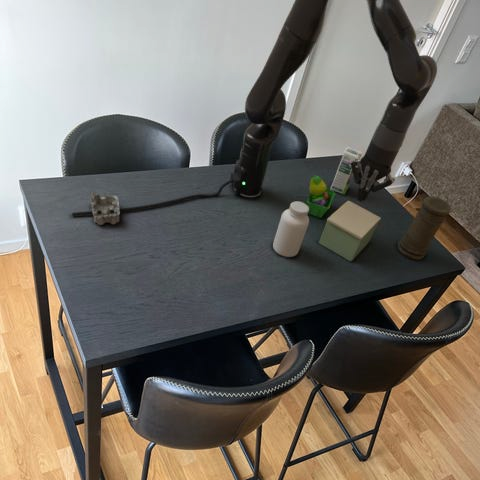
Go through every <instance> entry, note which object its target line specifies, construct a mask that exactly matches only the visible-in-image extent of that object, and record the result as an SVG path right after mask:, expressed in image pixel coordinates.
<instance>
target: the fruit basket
mask: <svg viewBox="0 0 480 480" xmlns="http://www.w3.org/2000/svg"><path fill="white" fill-rule="evenodd" d="M308 191H309V195H308V197H307V199H306V205H307V206H308V208H309V212H308V214H307V215H311V216H314V217H317V218H320V219H322V218H323V217H324V215H325V214H326V213H327V211H329V209H330V207H331V205H332V203H333V200H334V197H335V196H336V191H334V190H330V188H329V189H328V188H327V184H326V182H324V180H323V179H322V177H321V176H320V175H313V177H312V178H310V184H309V188H308Z"/></svg>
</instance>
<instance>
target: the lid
mask: <svg viewBox="0 0 480 480" xmlns="http://www.w3.org/2000/svg"><path fill="white" fill-rule="evenodd" d="M381 219H382V217H380V216H378V215H377V214H374V213H373V212H371V211H370V210H367V209H365V208H364V207H361V206H359V205H358V204H356V203H355V202H352V201H350V200H347V201H346V202H345V203H343V204H342V205H341V206H340V207H339V208H338V209H337V210H335V211H334V212H333V213H331V215H330V216H329V217H328V218H327V219H326V222H327V221H328V222H330V223H332V224H334V225H336V226H337V227H339V228H341V229H343V230H345V231H346V232H348V233H350V234H352V235H353V236H355V237H357V238H359V239H362V238H363V237H364V236H365V235H366V234H367V233H368V232H369V231H370V230H371V229H372V228H373V227H374V226H375V225H376V224H377V223H378V222H379V223H380V221H381ZM379 223H378V224H379Z"/></svg>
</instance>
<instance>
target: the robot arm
mask: <svg viewBox="0 0 480 480" xmlns="http://www.w3.org/2000/svg"><path fill="white" fill-rule="evenodd" d="M329 1H330V0H294V2H293V3H292V7H291V9H290V11H289V12H288V15H287V16H286V18H285V20H284V23H283V25H282V27H281V29H280V31H279V34H278V36H277V39H276V41H275V42H274V45H273V48H272V49H271V51H270V54H269V56H268V58H267V60H266V62H265V64H264V66H263V68H262V70H261V72H260V73H259V75H258V77H257V79H256V81H255V82H254V84H253V85H252V87H251V88H250V90H249V93H248V94H247V96H246V99H245V103H244V114H245V117H246V119H247V120H248V122H249V123H251V124H250V125H249V126H248V127H247V128H246V129H245V131H244V134H243V139H242V144H241V148H240V154H239V157H238V159H236V161H235V166H234V170H233V172H230V176H229V177H230V178H229V180H228V181H225V182H224V183H223V184H221V186H220V187H219V188H218V190H217V191H216V192H215V193H212V194H203V193H198V194H192V195H187V196H183V197H180V198H175V199H171V200H170V199H169V200H167V201H162V202H161V201H160V202H157V203H151V204H146V205H140V206H139V205H138V206H132V207H123V208H119V209H120V213H123V212H128V211H129V212H130V211H139V210H145V209H150V208H151V209H152V208H155V207H160V206H166V205H170V204H175V203H179V202H183V201H186V200H190V199H195V198H214V197H217V196H219V195H220V194H221V193H222V190H223V189H224V188H225V187H227V186H228V185H229V184H231V188H232V191H233V192H234V193H235V195H236V196H237V197H242V198H245V199H257V198H258V197H260V196H261V193H262V190H263V184H264V181H265V177H266V172H267V169H268V165H269V161H270V157H271V153H272V149H273V146H274V143H275V141H276V139H277V138H278V136H279V133H280V130H281V127H282V124H283V121H284V118H285V114H286V111H287V99H286V96H285V92H284V91H283V89H282V88H283V86H284V85H285V84H286V82H287V81H288V80H289V79H291V77H292V76H293V75H294V74H295V73H296V72H297V71H298V70H299V69H300V68H301V67H302V65H304V63H305V62H306V61H307V60H308V58H309V57H310V55H311V53H312V52H313V50H314V48H315V46H316V44H317V42H318V40H319V38H320V36H321V34H322V32H323V29H324V25H325V24H324V23H325V19H326V13H327V7H328V3H329ZM366 5H367V10H368V11H367V12H368V15H369V19H370V23H371V26H372V29H373V31H374V33H375V35H376V37H377V39H378V41H379V43H380V45H381V46H382V48H383V50H384V51H385V53H386V56H387V61H388V65H389V68H390V71H391V75H392V77H393V78H392V79H393V80H394V82H395V84H396V86H397V87H398V89H397V92H395V95H394V96H393V97H392V98H391V99H389V102H387V105H386V107H385V109H384V112H383V113H382V116H381V119H380V121H379V123H378V125H377V126H376V128H375V130H374V132H373V135H372V137H371V139H370V142H369V144H368V146H367V149H366V151H365V153H364V155H363V156H361V158H360V160H358V159H355V160H354V161H353V162H351V167H352V171H353V179H354V183H355V184H357V185H358V190H357V192H356V194H355V197H356V201H359V202H360V203H361V202H364V201H366V200H367V199H368V197H369V194H370V193H371V192H372V193H376V192H379V191H381V190H383V189H385V188H387V187H390V186H392V185H393V184H394V183H395V181H396V179H395V178H394V177H392V174H391V173H392V166H393V163H394V162H395V160H396V157H397V155H398V153H399V151H400V149H401V148H402V146H403V144H404V141H405V139H406V135H407V133H408V130H409V129H410V126H411V124H412V122H413V120H414V118H415V115H416V113H417V111H418V109H419V107H420V106H421V105H422V103H423V101H424V100H425V98H426V96H427V95H428V93H429V92H430V91H431V88H432V86H433V84H434V82H435V80H436V78H437V74H438V65H437V62H436V60H435V59H434V58H433V57H432V56H430V55H425V54H423V55H422V54H421V55H420V54H419V51H418V48H417V45H416V43H415V42H416V40H417V34H416V30H415V28H414V26H413V24H412V22H411V20H410V18H409V16H408V14H407V12H406V10H405V8H404V6H403V4H402V2H401V0H366ZM382 179H383V181H382V182H380V183H378V184H375V183H376V182H377V181H380V180H382ZM113 212H114V209H111V210H110V213H113ZM98 214H102V210H99V211H98ZM71 215H72V216H73V217H77V216H89V215H93V212H92V210H89V211H88V210H87V211H77V212H72V213H71Z"/></svg>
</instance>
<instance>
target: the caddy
mask: <svg viewBox="0 0 480 480" xmlns="http://www.w3.org/2000/svg"><path fill="white" fill-rule="evenodd" d="M379 224H380V221H379V222H378V223H377V224H376V225H375V226H374V227H373V228H372V229H371V230H370V231H369V232H368V233H367V234H366V235H365V236H364V237H363V238H362V239H359V238H357V237H355V236H353V235H352V234H350V233H348V232H346V231H345V230H343V229H341V228H339V227H337V226H336V225H334V224H332V223H330V222H328V221H327V220H326V224H325V226H324V228H323V231H322V233H321V236H320V239H319V241H318V244H320V245H321V246H323V247H324V248H327V249H328V250H330V251H332V252H333V253H335V254H337V255H338V256H340V257H342V258H344V259H345V260H347V261H349V262H352V261H353V260H354V259H355V258H356V257H357V256H358V255H359V254H360V253H361V252H362V250H363V249H364V248H365V247H366V246H367V245H368V244H369V243H370V241H371V239H372V237H373V235H374V234H375V231H376V229H377V227H378V225H379Z"/></svg>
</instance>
